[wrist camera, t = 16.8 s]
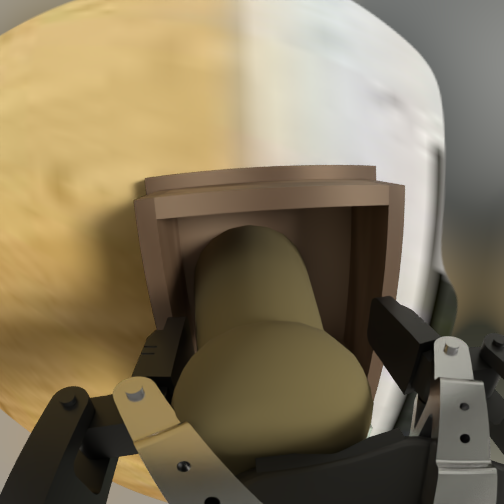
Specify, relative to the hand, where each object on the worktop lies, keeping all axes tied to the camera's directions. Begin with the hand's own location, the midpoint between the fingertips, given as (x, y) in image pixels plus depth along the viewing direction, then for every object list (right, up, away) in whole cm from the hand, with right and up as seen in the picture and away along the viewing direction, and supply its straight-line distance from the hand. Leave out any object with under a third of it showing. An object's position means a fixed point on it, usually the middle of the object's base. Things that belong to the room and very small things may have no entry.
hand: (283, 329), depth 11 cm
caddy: (0, -4, +7) cm, 9 cm away
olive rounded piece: (-1, +1, +5) cm, 5 cm away
